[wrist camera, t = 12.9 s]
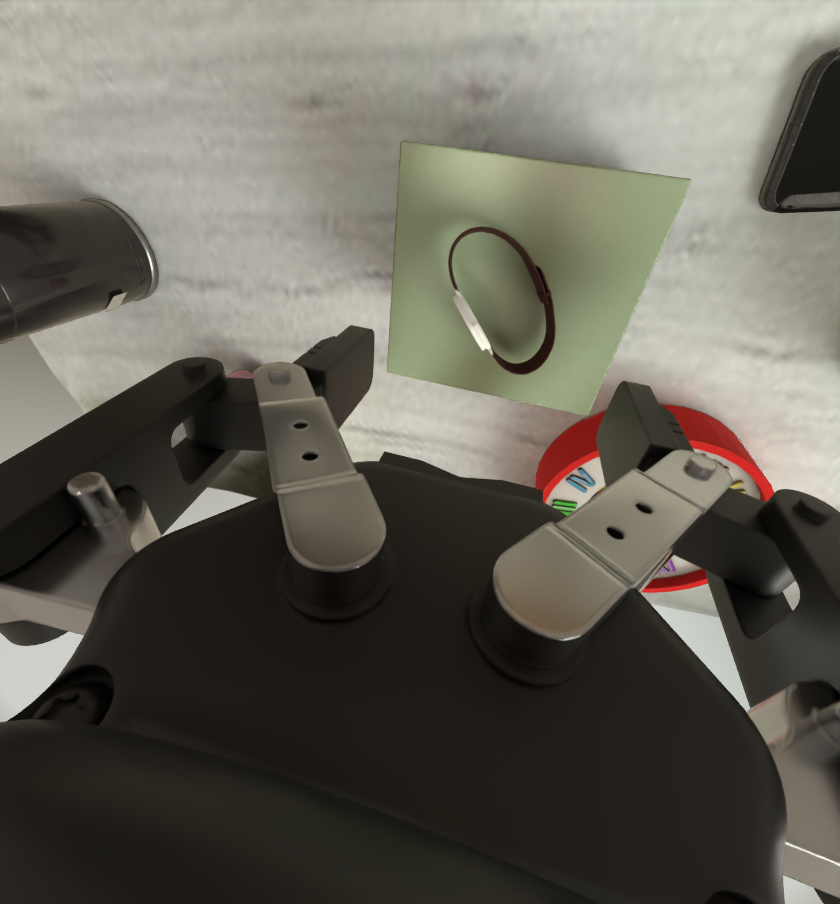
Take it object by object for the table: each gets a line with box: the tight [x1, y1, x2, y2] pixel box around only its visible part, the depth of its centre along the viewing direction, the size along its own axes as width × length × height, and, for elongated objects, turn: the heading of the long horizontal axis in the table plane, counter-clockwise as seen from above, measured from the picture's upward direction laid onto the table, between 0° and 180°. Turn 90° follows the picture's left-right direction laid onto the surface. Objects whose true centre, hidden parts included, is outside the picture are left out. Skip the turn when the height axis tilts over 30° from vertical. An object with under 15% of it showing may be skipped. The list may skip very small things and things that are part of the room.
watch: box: [448, 226, 556, 375], centre depth 20 cm, size 8×5×4 cm, turn 34°
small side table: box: [387, 141, 691, 416], centre depth 26 cm, size 13×12×14 cm
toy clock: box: [535, 404, 774, 593], centre depth 39 cm, size 20×6×20 cm
